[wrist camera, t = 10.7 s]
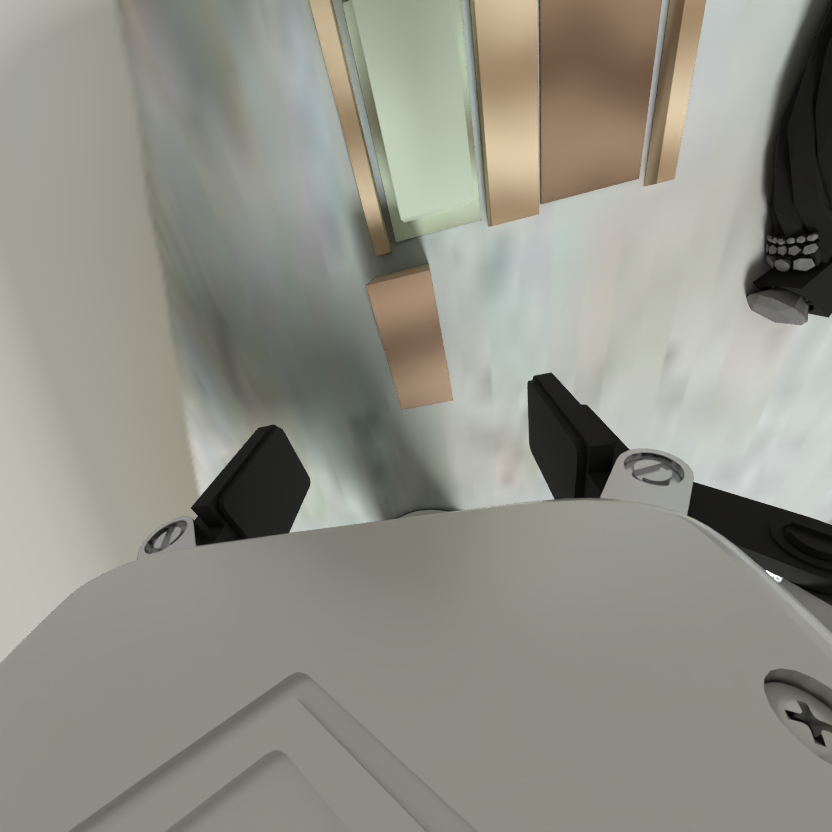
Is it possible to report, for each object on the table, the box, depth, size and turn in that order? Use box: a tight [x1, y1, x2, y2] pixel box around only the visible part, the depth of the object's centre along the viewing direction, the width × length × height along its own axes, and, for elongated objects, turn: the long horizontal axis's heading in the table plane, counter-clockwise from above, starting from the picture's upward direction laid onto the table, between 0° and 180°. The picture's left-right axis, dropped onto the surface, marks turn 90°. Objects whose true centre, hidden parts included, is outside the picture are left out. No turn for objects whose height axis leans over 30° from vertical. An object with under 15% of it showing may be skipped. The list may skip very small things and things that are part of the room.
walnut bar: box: [366, 264, 453, 410], centre depth 22 cm, size 9×4×5 cm, turn 13°
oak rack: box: [309, 0, 706, 256], centre depth 16 cm, size 13×19×1 cm
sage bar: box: [352, 0, 474, 223], centre depth 16 cm, size 9×4×5 cm, turn 13°
